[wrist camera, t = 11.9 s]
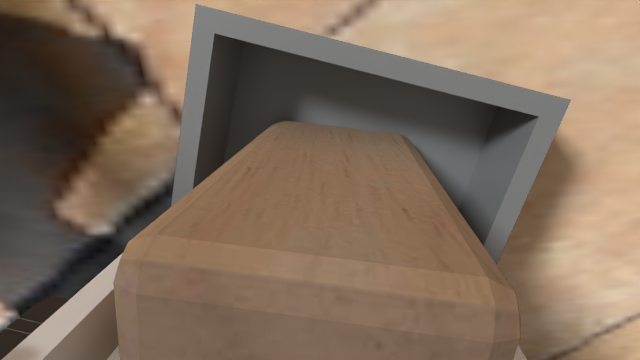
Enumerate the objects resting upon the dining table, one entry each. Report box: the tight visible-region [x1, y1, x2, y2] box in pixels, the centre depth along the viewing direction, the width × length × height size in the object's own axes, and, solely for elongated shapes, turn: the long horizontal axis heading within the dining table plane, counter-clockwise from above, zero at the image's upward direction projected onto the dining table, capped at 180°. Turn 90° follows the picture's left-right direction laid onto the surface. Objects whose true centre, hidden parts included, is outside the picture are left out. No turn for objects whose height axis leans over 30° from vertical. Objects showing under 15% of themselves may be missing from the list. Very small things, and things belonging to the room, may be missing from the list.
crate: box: [171, 4, 571, 265], centre depth 26 cm, size 20×20×7 cm
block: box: [113, 120, 520, 360], centre depth 19 cm, size 10×10×20 cm
